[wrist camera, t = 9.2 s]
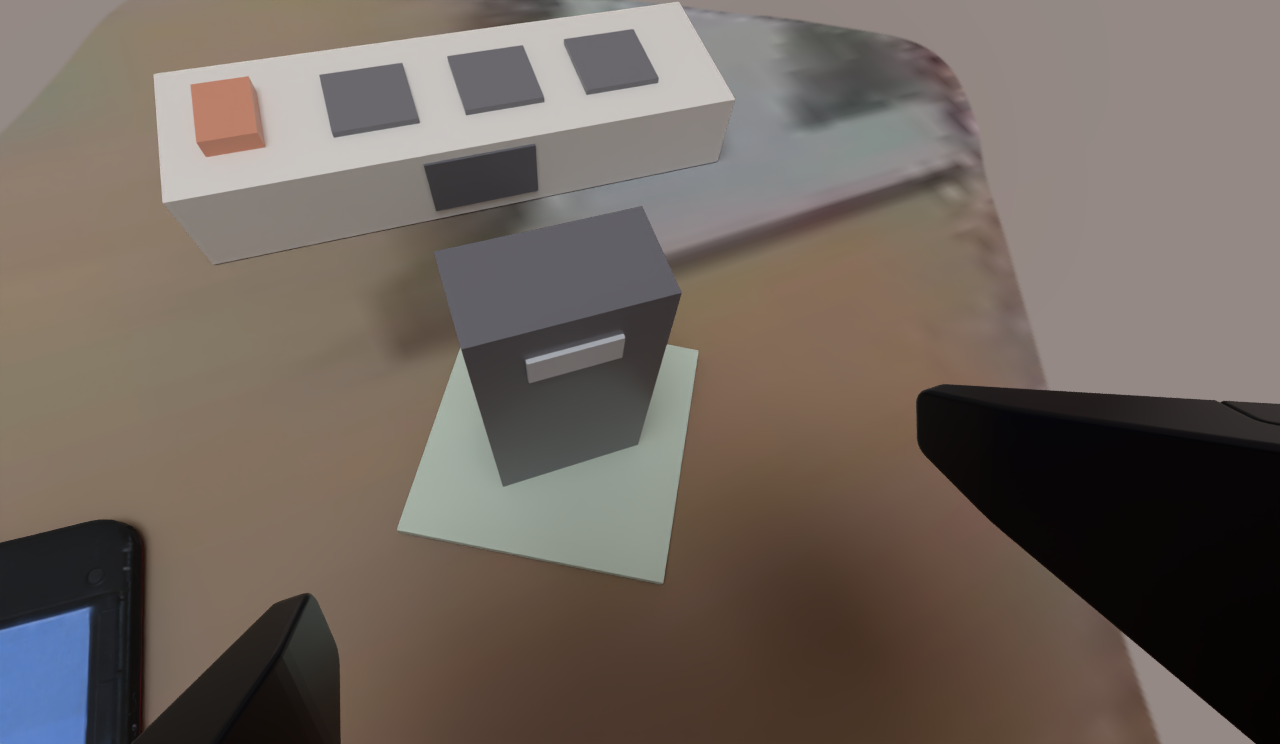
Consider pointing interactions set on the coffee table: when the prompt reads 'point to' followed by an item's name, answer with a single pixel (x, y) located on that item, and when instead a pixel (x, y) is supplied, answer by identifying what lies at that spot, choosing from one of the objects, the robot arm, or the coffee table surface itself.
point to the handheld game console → (71, 635)
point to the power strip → (432, 127)
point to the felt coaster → (557, 487)
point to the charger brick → (562, 336)
